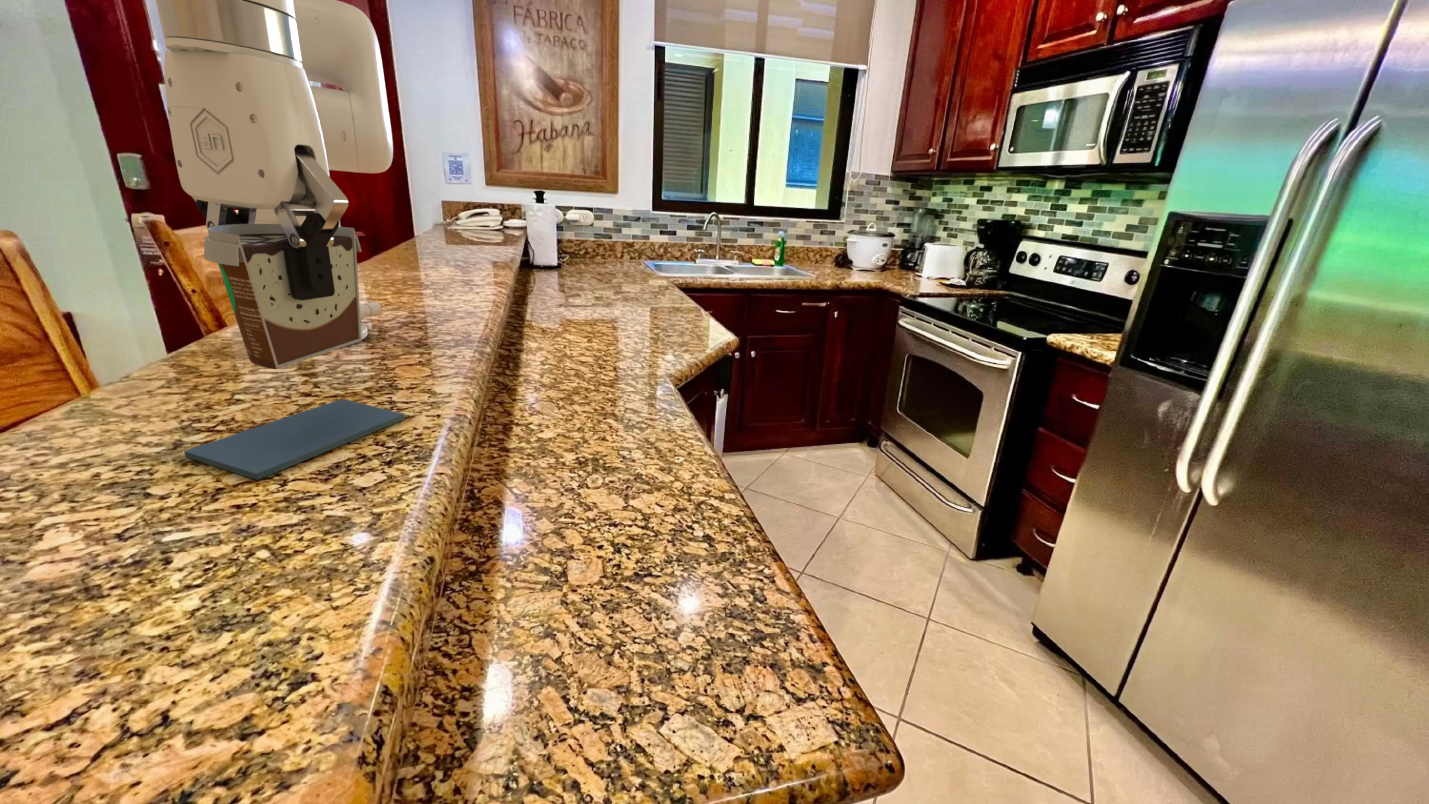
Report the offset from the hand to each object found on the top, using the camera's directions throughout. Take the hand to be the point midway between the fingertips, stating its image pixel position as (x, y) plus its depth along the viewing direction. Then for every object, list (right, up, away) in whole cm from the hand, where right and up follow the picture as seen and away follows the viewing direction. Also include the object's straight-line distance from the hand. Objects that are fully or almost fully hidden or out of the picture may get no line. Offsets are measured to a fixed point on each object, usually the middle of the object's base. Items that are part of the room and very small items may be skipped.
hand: (280, 289), depth 45 cm
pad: (-1, -12, +5) cm, 13 cm away
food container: (-1, -5, +2) cm, 5 cm away
